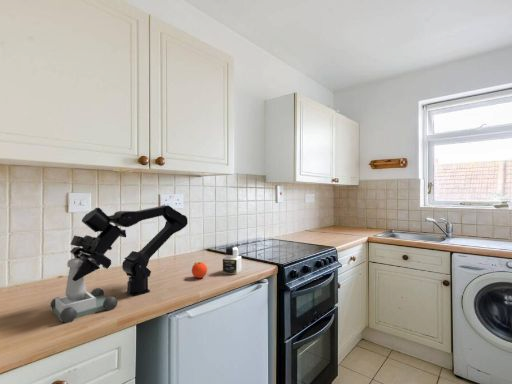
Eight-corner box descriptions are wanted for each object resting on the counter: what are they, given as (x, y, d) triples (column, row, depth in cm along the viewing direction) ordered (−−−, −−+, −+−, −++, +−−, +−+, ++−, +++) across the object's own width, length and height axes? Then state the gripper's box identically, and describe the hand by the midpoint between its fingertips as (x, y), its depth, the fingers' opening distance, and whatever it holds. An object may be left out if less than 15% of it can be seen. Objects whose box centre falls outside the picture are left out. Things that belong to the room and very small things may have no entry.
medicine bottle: (222, 273, 135) (222, 248, 135) (228, 269, 142) (228, 245, 142) (236, 274, 133) (236, 249, 133) (241, 270, 140) (241, 246, 139)
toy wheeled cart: (102, 297, 105) (102, 285, 105) (117, 307, 96) (117, 294, 96) (50, 310, 94) (50, 297, 94) (61, 324, 84) (61, 309, 84)
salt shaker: (85, 293, 97) (84, 255, 97) (87, 298, 92) (86, 259, 92) (65, 297, 93) (64, 258, 93) (66, 303, 89) (65, 262, 89)
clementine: (187, 277, 129) (187, 261, 129) (200, 274, 134) (200, 259, 134) (197, 281, 124) (197, 264, 124) (210, 277, 129) (210, 261, 129)
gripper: (75, 224, 101) (39, 261, 93) (100, 228, 90) (61, 271, 82) (99, 242, 108) (67, 279, 99) (125, 248, 97) (91, 289, 88)
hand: (71, 279), depth 92 cm, fingers closed on salt shaker, 3 cm apart
